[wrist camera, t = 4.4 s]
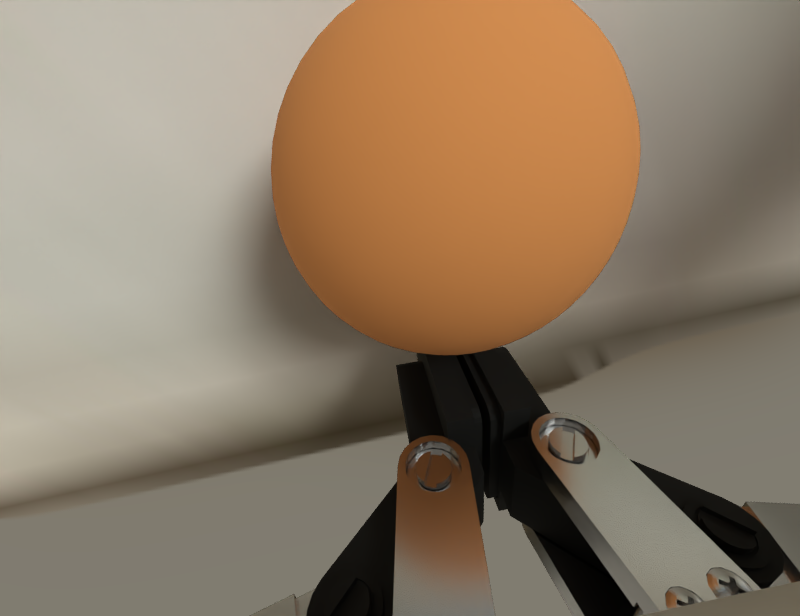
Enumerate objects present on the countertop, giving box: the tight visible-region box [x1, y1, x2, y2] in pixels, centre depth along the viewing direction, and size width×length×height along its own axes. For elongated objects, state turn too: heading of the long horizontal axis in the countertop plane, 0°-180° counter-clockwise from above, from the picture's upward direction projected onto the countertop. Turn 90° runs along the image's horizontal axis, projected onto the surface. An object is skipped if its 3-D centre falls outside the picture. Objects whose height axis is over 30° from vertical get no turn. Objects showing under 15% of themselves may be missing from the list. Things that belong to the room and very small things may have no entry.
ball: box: [271, 0, 640, 355], centre depth 6 cm, size 6×6×6 cm
